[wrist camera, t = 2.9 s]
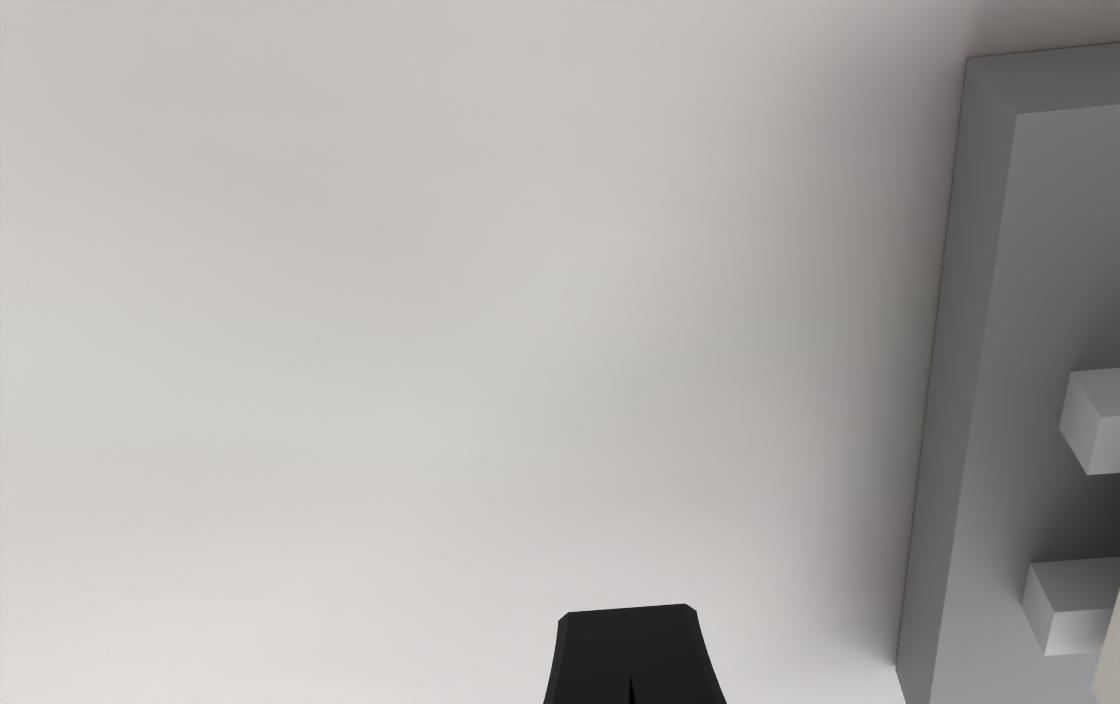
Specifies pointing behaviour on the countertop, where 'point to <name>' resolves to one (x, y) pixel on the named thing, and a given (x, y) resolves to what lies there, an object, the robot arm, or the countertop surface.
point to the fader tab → (1109, 663)
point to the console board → (1022, 394)
